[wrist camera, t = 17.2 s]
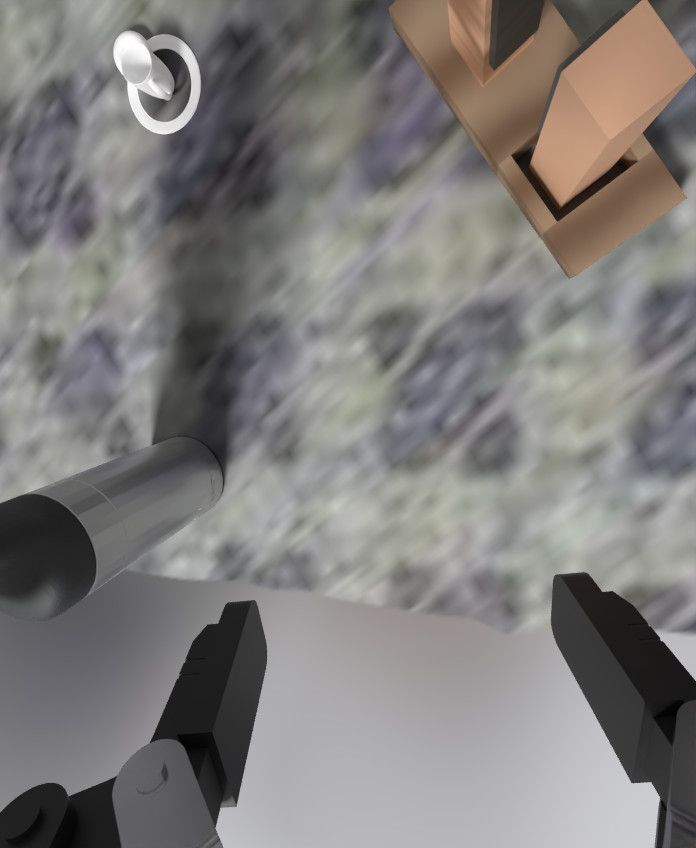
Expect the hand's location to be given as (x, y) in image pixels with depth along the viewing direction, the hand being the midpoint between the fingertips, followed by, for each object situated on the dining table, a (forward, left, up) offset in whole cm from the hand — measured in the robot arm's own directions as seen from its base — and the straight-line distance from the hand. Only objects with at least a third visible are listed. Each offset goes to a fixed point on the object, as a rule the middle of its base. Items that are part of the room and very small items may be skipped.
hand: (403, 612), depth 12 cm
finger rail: (+5, +23, -30) cm, 38 cm away
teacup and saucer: (-26, +33, -30) cm, 52 cm away
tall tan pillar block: (+8, +19, -30) cm, 36 cm away
